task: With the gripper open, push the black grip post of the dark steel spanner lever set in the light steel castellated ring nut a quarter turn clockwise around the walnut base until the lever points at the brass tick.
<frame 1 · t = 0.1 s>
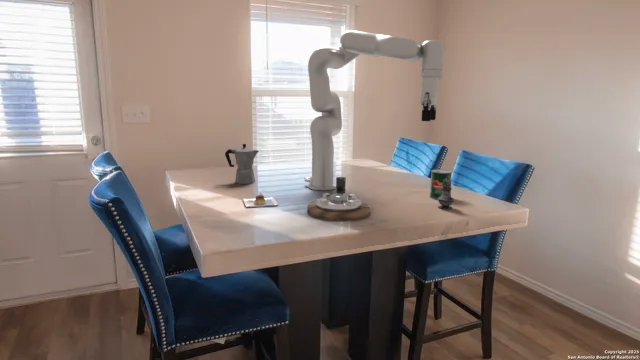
hand: (428, 120, 163), 31 cm above the table, tool pointing down, fingers open, 9 cm apart
canned tomato: (439, 198, 173), on the table
gray candlestick: (445, 208, 156), on the table
coffeepot: (242, 182, 199), on the table
nut base: (338, 211, 150), on the table
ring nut: (339, 192, 153), point 6 cm above the table, hinge at 0.0°
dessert: (260, 205, 161), on the table
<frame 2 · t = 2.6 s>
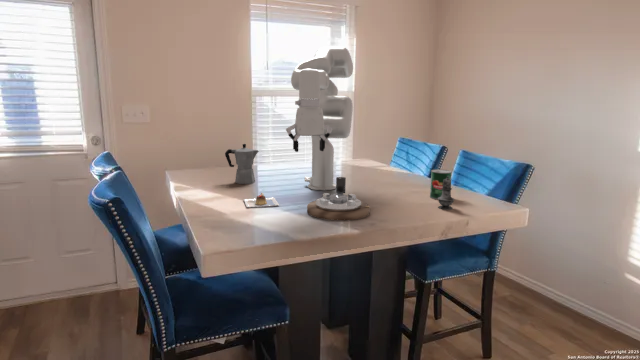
hand: (309, 151, 157), 20 cm above the table, tool pointing down, fingers open, 9 cm apart
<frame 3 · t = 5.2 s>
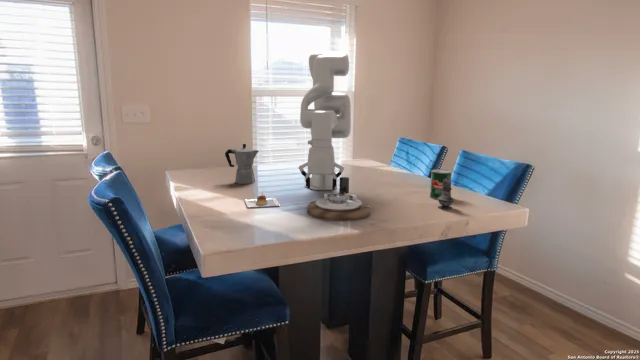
hand: (321, 188, 163), 5 cm above the table, tool pointing down, fingers open, 9 cm apart
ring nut: (340, 193, 153), point 6 cm above the table, hinge at 5.5°, touching gripper
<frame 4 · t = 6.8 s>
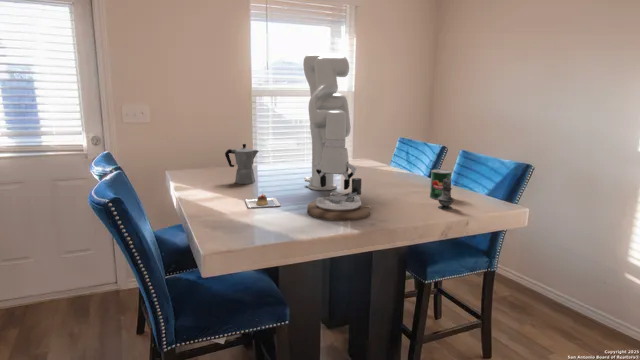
hand: (334, 187, 164), 5 cm above the table, tool pointing down, fingers open, 9 cm apart
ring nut: (343, 193, 152), point 6 cm above the table, hinge at 25.6°, touching gripper
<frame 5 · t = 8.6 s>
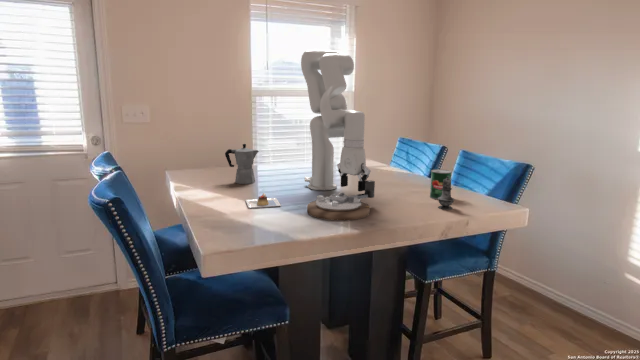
hand: (352, 188, 163), 5 cm above the table, tool pointing down, fingers open, 9 cm apart
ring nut: (347, 194, 151), point 6 cm above the table, hinge at 51.2°, touching gripper
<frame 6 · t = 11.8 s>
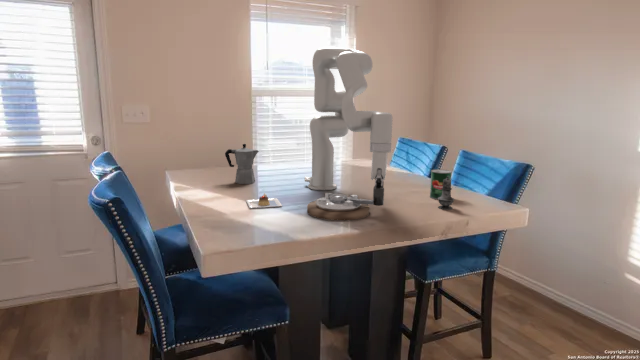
hand: (378, 194, 154), 5 cm above the table, tool pointing down, fingers open, 9 cm apart
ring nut: (349, 196, 148), point 6 cm above the table, hinge at 99.4°, touching gripper
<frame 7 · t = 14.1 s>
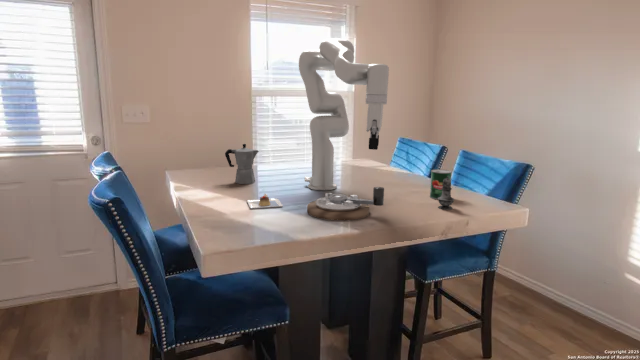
hand: (373, 147, 155), 22 cm above the table, tool pointing down, fingers open, 9 cm apart
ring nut: (349, 196, 148), point 6 cm above the table, hinge at 99.7°
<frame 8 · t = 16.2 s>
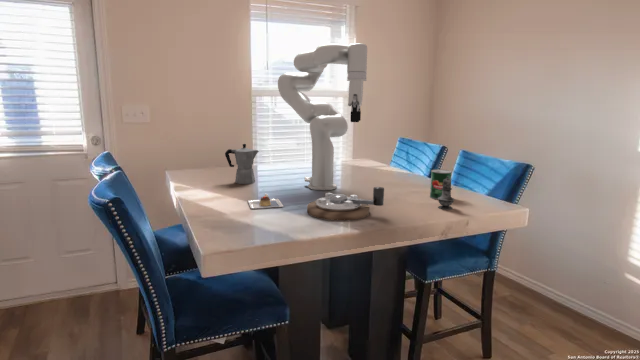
hand: (355, 121, 168), 30 cm above the table, tool pointing down, fingers open, 9 cm apart
at the end: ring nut at +100° (first picture: +0°) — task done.
